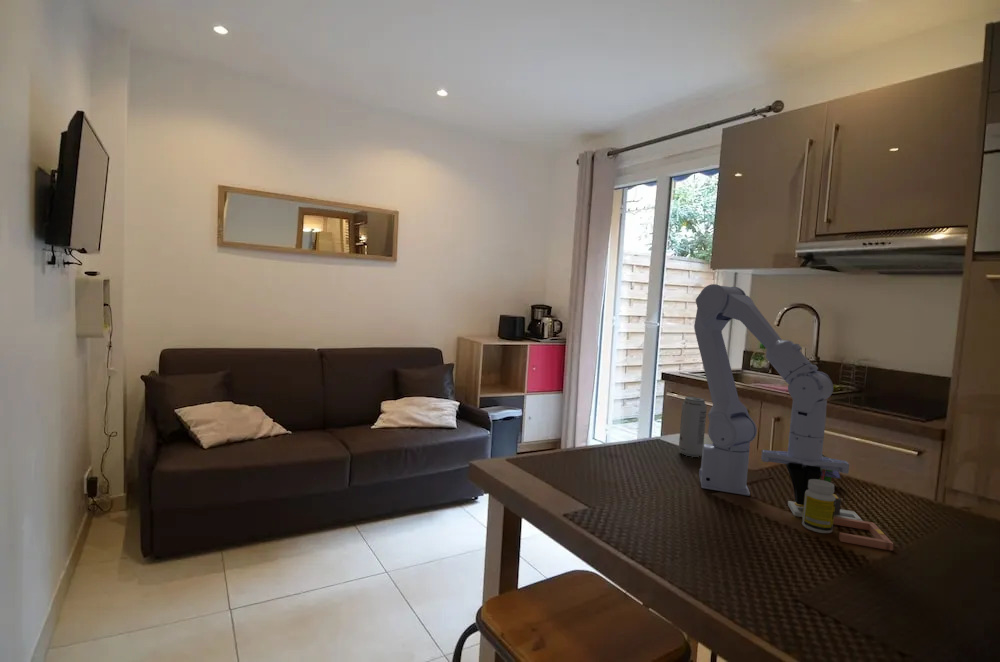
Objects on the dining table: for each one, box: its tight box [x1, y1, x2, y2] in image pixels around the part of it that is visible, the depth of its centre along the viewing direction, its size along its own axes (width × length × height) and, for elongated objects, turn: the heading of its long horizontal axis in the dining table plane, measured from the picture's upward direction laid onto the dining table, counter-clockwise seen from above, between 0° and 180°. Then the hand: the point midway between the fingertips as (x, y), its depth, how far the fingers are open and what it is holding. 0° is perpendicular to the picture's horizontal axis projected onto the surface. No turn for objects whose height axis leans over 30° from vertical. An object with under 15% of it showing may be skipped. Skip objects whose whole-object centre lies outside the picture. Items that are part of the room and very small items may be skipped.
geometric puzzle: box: [819, 454, 842, 483], centre depth 118 cm, size 7×7×8 cm
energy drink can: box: [678, 396, 708, 458], centre depth 135 cm, size 6×6×15 cm
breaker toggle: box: [833, 493, 842, 514], centre depth 98 cm, size 3×3×3 cm
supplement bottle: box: [801, 479, 836, 534], centre depth 92 cm, size 5×5×8 cm
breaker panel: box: [787, 500, 864, 521], centre depth 99 cm, size 12×6×1 cm, turn 71°
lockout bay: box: [833, 516, 894, 552], centre depth 91 cm, size 8×9×1 cm
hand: (799, 502), depth 100 cm, fingers closed
